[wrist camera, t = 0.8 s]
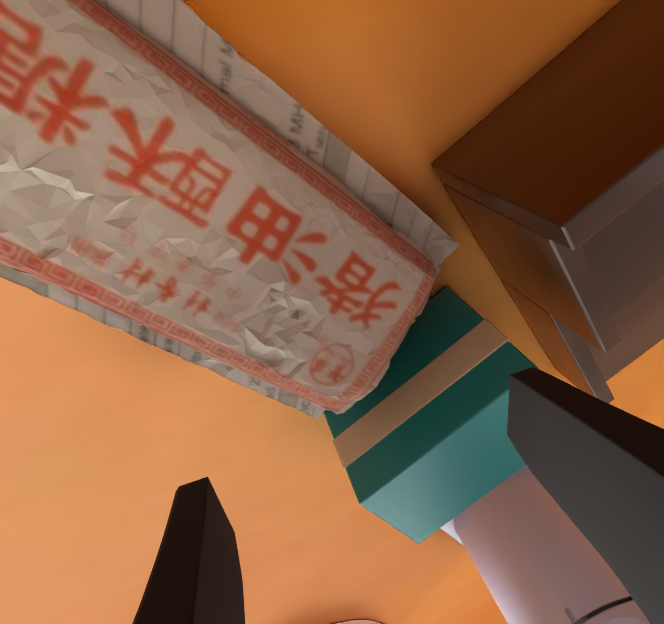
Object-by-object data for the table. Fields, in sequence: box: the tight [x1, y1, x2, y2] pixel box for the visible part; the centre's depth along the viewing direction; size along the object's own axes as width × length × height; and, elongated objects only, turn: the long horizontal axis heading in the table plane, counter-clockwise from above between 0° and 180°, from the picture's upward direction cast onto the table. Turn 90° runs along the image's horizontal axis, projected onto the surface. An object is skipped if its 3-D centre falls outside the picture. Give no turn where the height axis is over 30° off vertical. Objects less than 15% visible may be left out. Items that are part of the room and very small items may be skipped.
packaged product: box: [0, 0, 461, 418], centre depth 15 cm, size 18×5×10 cm
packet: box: [324, 286, 538, 543], centre depth 20 cm, size 5×8×6 cm, turn 127°
